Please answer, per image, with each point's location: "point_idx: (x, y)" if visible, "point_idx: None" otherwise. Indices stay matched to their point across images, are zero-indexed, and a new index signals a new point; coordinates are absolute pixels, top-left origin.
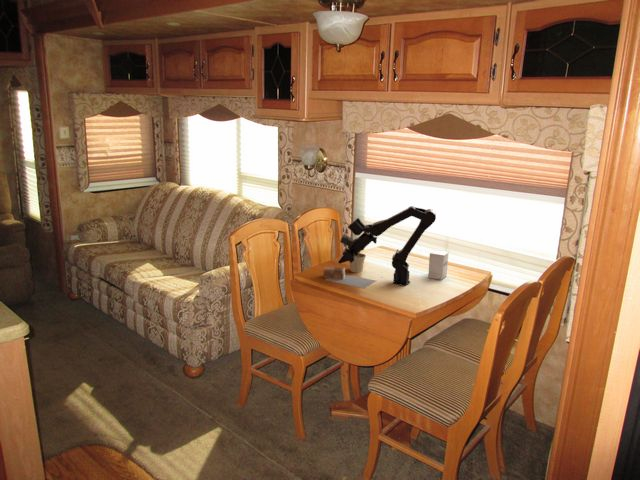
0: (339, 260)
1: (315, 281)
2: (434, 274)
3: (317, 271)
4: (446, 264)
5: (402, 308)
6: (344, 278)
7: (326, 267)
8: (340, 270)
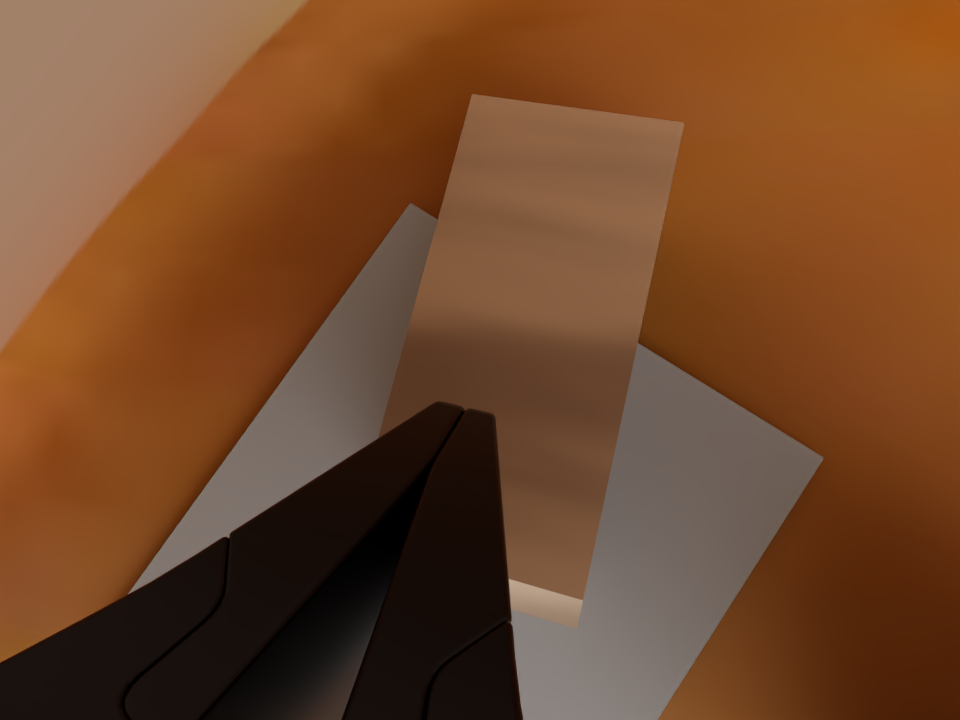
0: (379, 441)
1: (380, 87)
2: None
3: (924, 84)
4: None
5: None
6: None
7: (610, 150)
8: None
